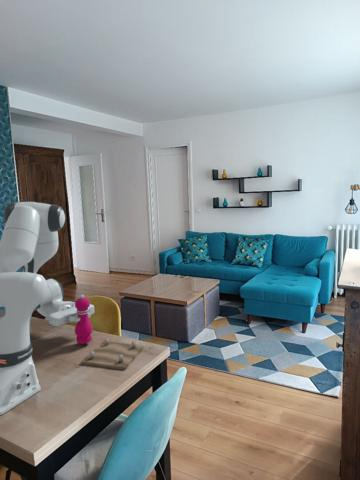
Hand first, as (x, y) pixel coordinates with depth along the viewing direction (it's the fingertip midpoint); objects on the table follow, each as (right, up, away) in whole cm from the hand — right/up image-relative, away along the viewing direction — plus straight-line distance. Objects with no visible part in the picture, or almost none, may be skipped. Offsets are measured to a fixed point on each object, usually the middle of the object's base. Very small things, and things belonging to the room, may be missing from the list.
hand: (84, 317), depth 144 cm
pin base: (+14, -13, -9) cm, 21 cm away
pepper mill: (-1, -10, +2) cm, 10 cm away
